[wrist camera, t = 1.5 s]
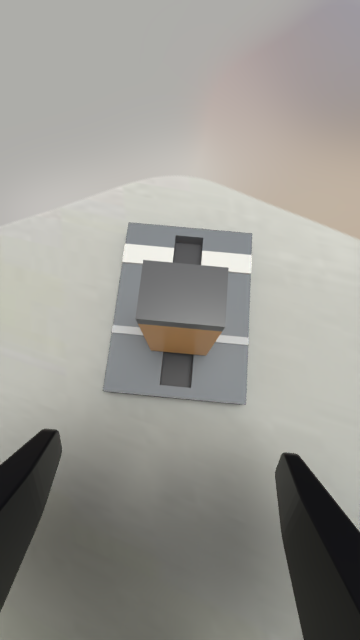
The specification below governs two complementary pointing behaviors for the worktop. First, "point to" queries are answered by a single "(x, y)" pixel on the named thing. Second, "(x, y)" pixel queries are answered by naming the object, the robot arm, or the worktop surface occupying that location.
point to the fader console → (177, 368)
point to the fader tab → (182, 306)
